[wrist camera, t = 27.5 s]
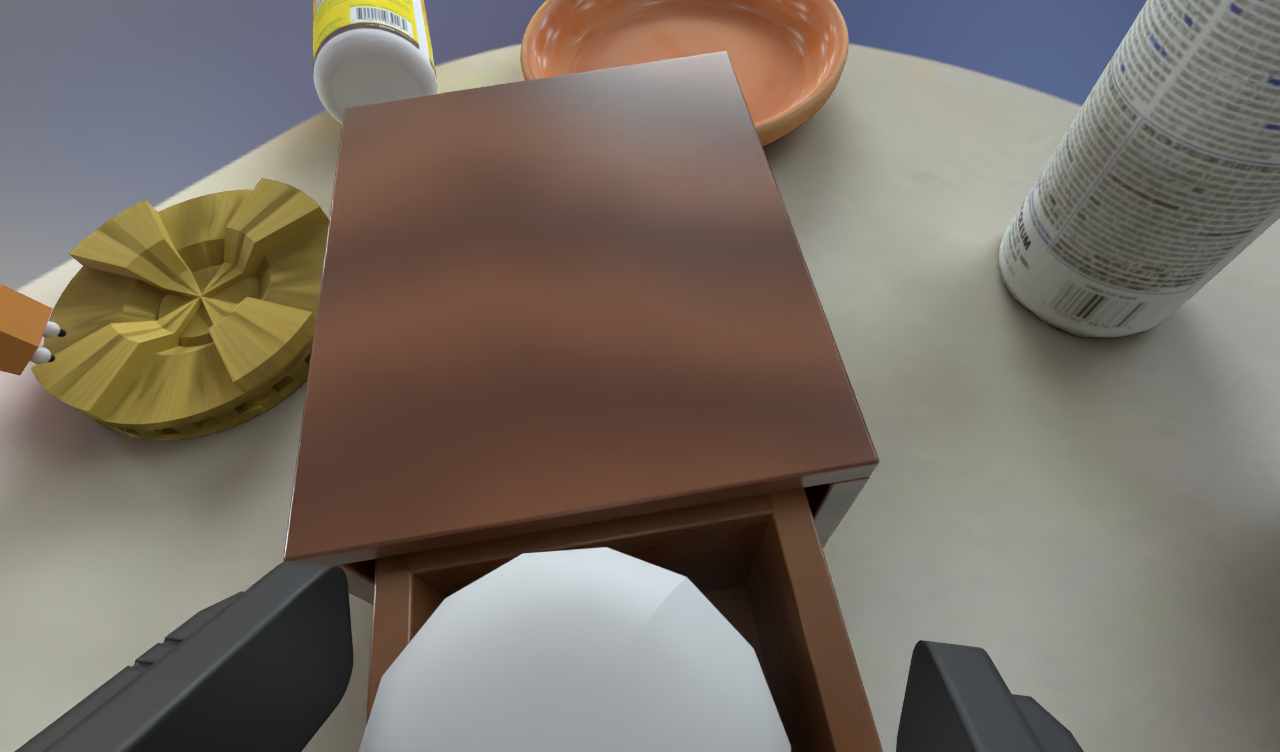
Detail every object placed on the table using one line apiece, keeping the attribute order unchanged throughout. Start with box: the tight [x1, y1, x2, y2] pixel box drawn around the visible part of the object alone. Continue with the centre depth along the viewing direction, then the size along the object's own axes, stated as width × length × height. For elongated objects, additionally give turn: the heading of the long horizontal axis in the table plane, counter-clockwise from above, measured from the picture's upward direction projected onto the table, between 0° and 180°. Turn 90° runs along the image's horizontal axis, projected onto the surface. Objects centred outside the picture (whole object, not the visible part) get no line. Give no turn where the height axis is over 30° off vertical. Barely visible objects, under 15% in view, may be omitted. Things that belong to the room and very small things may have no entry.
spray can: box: [998, 0, 1280, 337], centre depth 17 cm, size 7×7×20 cm
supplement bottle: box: [313, 0, 438, 124], centre depth 33 cm, size 6×6×10 cm
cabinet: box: [284, 51, 879, 605], centre depth 20 cm, size 14×12×10 cm
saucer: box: [521, 0, 849, 147], centre depth 33 cm, size 16×16×3 cm
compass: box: [31, 178, 329, 440], centre depth 27 cm, size 12×12×2 cm
